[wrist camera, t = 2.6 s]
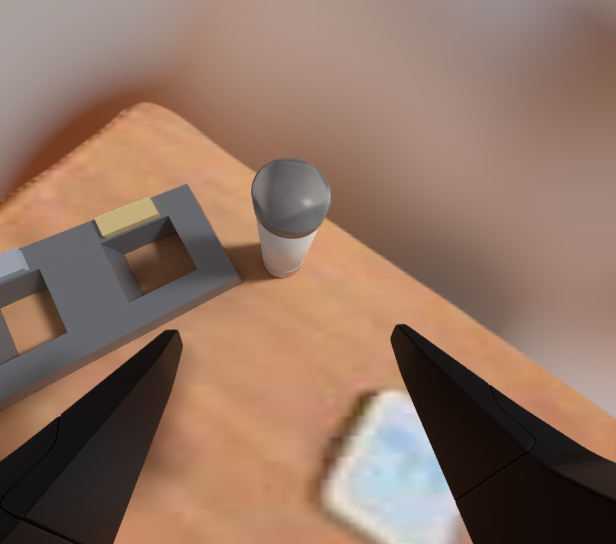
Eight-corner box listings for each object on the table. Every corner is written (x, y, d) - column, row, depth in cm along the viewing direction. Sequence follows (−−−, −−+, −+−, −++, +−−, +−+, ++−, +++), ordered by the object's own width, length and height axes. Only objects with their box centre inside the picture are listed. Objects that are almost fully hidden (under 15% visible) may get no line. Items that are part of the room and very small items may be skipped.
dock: (-6, 413, 17) (-74, 436, 14) (-50, 298, 18) (-122, 293, 15) (242, 282, 22) (237, 275, 19) (196, 198, 24) (183, 177, 20)
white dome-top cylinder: (280, 286, 23) (287, 245, 11) (254, 256, 23) (234, 184, 11) (309, 262, 24) (346, 200, 12) (285, 233, 24) (296, 145, 12)
